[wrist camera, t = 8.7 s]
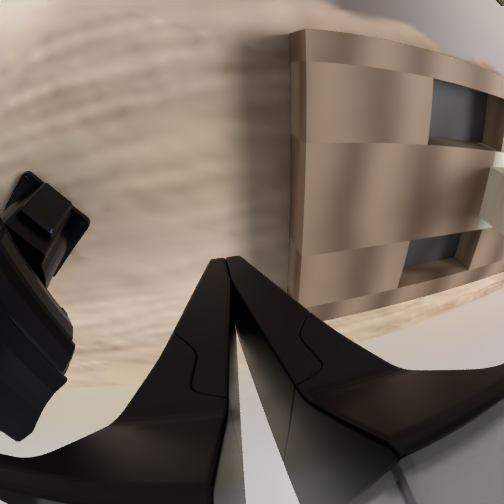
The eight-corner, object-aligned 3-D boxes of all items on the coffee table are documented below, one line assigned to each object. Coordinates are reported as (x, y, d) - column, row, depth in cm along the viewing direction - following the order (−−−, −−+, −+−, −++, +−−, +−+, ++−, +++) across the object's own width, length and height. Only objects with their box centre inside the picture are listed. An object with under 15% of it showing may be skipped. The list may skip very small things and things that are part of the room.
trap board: (287, 302, 28) (296, 326, 26) (289, 33, 16) (305, 28, 14) (492, 257, 32) (506, 270, 30) (529, 92, 20) (549, 99, 18)
